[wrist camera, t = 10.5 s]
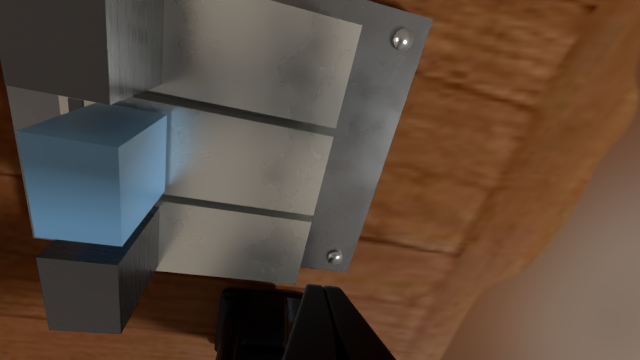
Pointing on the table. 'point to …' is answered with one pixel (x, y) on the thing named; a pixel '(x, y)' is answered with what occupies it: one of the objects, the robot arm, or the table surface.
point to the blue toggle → (94, 172)
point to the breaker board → (218, 131)
